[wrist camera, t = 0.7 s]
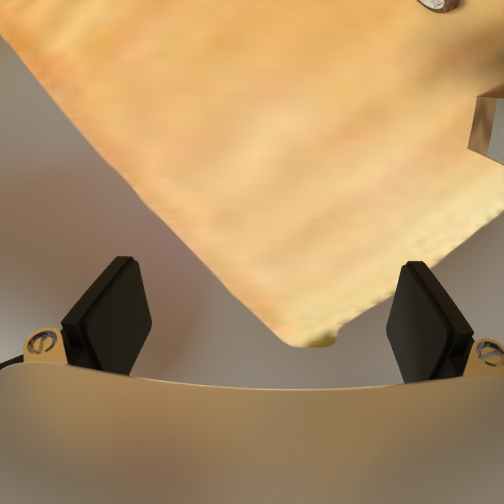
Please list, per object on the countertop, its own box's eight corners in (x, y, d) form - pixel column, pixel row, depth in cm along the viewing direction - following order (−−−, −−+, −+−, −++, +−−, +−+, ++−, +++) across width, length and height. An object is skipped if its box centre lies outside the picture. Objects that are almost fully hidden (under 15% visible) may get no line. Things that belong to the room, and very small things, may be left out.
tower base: (476, 96, 30) (497, 98, 25) (512, 117, 30) (533, 121, 25) (466, 148, 33) (486, 155, 29) (502, 165, 34) (522, 173, 29)
